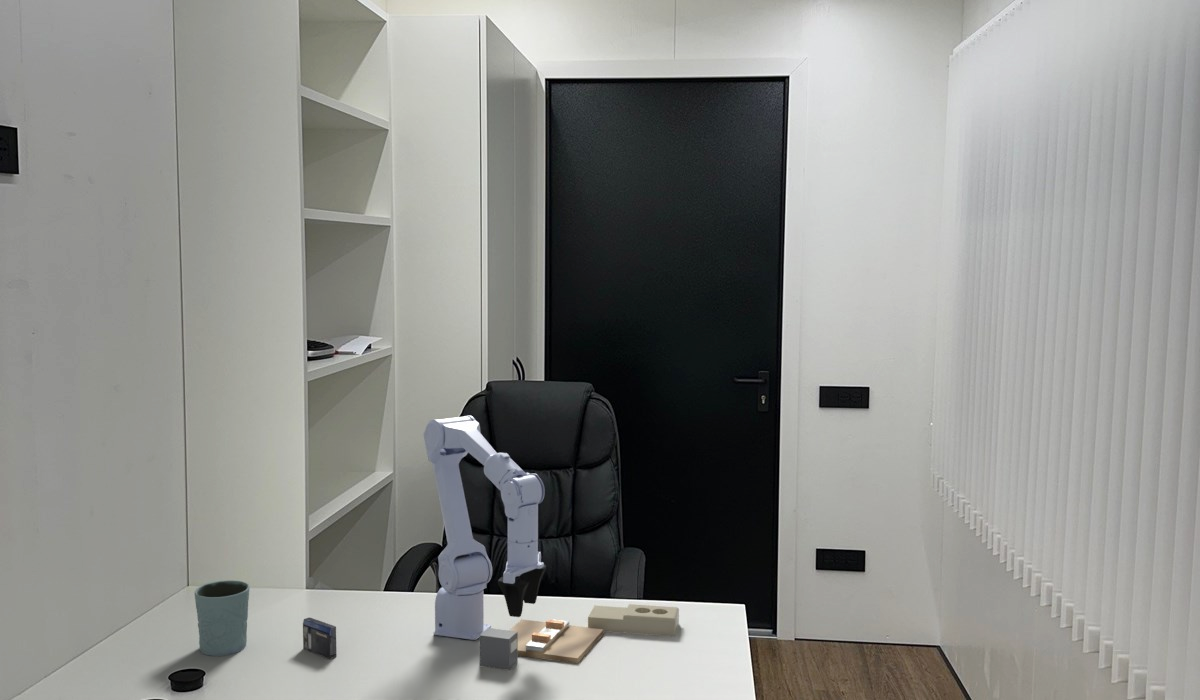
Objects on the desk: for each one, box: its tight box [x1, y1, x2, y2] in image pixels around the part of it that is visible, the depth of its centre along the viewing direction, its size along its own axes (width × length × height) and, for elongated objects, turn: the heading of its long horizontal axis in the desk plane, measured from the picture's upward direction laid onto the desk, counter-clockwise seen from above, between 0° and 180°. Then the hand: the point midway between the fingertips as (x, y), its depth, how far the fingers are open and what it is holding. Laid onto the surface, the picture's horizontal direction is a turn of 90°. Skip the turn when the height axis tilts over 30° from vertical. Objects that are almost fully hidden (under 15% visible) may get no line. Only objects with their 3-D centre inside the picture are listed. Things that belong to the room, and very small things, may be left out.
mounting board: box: [509, 619, 605, 664], centre depth 203 cm, size 18×16×1 cm
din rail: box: [526, 618, 570, 652], centre depth 203 cm, size 4×15×2 cm, turn 162°
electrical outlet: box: [587, 603, 680, 637], centre depth 212 cm, size 7×4×18 cm
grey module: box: [479, 627, 519, 671], centre depth 192 cm, size 6×4×6 cm, turn 72°
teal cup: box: [194, 579, 251, 657], centre depth 199 cm, size 10×10×12 cm
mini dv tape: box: [302, 617, 338, 660], centre depth 197 cm, size 8×2×6 cm, turn 53°
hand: (522, 609), depth 194 cm, fingers open, 7 cm apart
